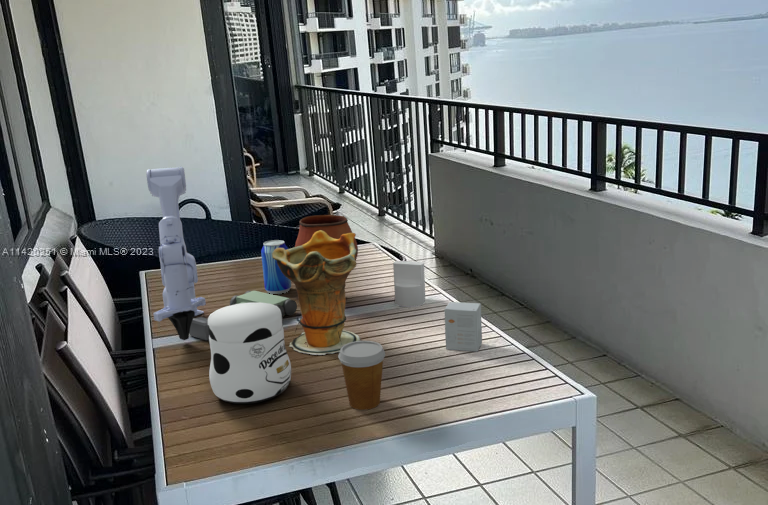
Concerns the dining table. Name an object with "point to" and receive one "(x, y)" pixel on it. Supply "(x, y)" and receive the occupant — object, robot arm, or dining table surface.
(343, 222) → the terracotta pot
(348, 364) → the disposable coffee cup
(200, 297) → the robot arm
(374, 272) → the dining table surface
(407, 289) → the cylinder with rectangular tab
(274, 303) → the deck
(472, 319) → the small box
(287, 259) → the decorative vase
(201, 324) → the grey stepped block
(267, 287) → the beer can
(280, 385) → the milk container
